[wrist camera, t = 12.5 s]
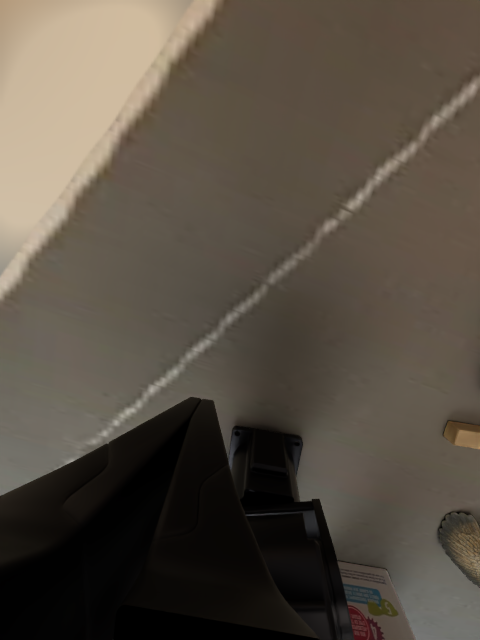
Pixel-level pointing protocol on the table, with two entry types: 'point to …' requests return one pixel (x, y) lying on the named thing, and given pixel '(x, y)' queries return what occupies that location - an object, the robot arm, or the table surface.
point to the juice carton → (373, 604)
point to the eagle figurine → (462, 543)
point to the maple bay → (463, 434)
